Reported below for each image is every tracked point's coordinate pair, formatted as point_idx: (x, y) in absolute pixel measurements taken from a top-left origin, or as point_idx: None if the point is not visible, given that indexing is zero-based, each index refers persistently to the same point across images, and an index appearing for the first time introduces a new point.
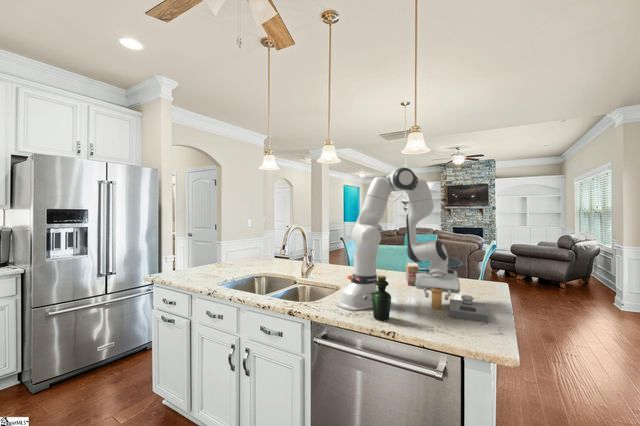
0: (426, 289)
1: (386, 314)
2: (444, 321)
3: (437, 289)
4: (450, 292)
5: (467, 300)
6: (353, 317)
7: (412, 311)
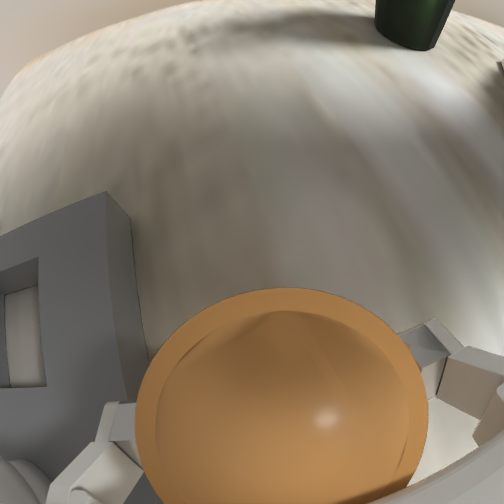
0: (490, 423)
1: (376, 2)
2: (149, 130)
3: (257, 418)
4: (57, 478)
5: None
6: (451, 24)
7: (390, 160)
